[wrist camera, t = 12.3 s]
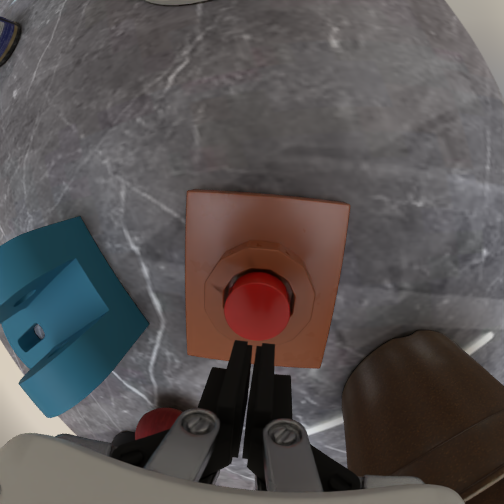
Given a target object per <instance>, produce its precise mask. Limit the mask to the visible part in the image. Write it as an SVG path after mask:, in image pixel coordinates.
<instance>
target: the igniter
mask: <svg viewBox="0 0 504 504" xmlns="http://www.w3.org/2000/svg"><path fill="white" fill-rule="evenodd" d="M349 213H350V205H349V204H347V203H345V202H340V201H331V200H323V199H314V198H305V197H295V196H285V195H274V194H262V193H250V192H236V191H220V190H202V189H193V190H188V191H187V198H186V230H185V301H186V333H187V354H188V355H191V356H197V357H204V358H210V359H217V360H225V361H229V359H230V355H231V352H232V348H233V345H234V341H235V340H240V341H248V345H253V346H252V358H251V364H254V361H255V354H256V347H257V346H262V343H268V344H275V361H274V366H283V367H298V368H320V367H321V363H322V359H323V355H324V351H325V347H326V342H327V338H328V334H329V329H330V325H331V320H332V315H333V310H334V305H335V300H336V295H337V290H338V285H339V279H340V273H341V267H342V261H343V255H344V249H345V242H346V235H347V228H348V220H349ZM252 272H264V273H268V274H271V275H273V276H275V277H277V278H278V279H279V280H280V281H281V282H282V283H283V284H284V285H285V287H286V288H287V291H288V294H289V301H290V319H289V322H288V324H287V326H286V327H285V329H284V330H283V331H282V332H281V333H280V334H278V335H277V336H275V337H273V338H271V339H268V340H263V341H254V340H249V339H245V338H243V337H241V336H239V335H238V334H236V333H235V332H234V331H233V330H232V329H231V328H230V327H229V325H228V323H227V321H226V319H225V315H224V305H225V302H226V299H227V297H228V294H229V292H230V289H231V287H232V285H233V284H234V283H235V281H236V280H237V279H239V278H240V277H241V276H243V275H245V274H248V273H252Z"/></svg>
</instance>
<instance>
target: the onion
mask: <svg viewBox="0 0 504 504" xmlns="http://www.w3.org/2000/svg"><path fill="white" fill-rule="evenodd" d="M181 413H183V412H182V411H180V410H178V409H174V408H157V409H154V410H152V411H150V412H148V413H146V414H144V416H143V417H142V418H141V419H140V421H139V423H138V425H137V428H136V431H135V440H137V439H141V438H144V437H147V436H150V435H153V434H156V433H159V432H162V431H165V430H167V429H170V428H171V427H172V425H173V424H174V422H175V421H176V419H177V418H178V416H179V415H180V414H181Z"/></svg>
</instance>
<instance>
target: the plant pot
mask: <svg viewBox="0 0 504 504" xmlns="http://www.w3.org/2000/svg"><path fill="white" fill-rule="evenodd" d="M342 413H343V420H344V430H345V440H346V452H347V466H348V469H349V470H350V471H352V472H353V473H354V474H356V475H357V476H359V477H364V475H380V476H413V477H417V478H419V479H421V480H422V481H423V482H424V483H425V484H431V485H439V486H444V487H448V488H450V489H452V490H454V491H455V492H457V493H458V494H459V496H460V497H461V498H462V499H463V501H464V503H465V504H504V386H503V385H502V384H501V383H500V382H499V381H498V380H496V379H495V378H494V377H493V376H492V375H491V374H490V373H489V372H487V371H486V370H485V369H484V368H483V367H482V366H481V365H480V364H478V363H477V362H476V361H475V360H474V359H473V358H472V357H470V356H469V355H468V354H467V353H466V352H464V351H463V350H462V349H461V348H460V347H459V346H458V345H456V344H455V343H454V342H453V341H452V340H451V339H450V338H448V337H447V336H445V335H443V334H441V333H439V332H435V331H431V330H421V331H415V332H414V333H413V334H412V335H410V336H407V337H402V338H394V339H392V340H390V341H388V342H386V343H385V344H383V345H382V346H380V347H379V348H377V349H376V350H375V351H373V352H372V353H371V354H370V355H369V356H367V357H366V358H365V359H364V360H363V361H362V362H361V363H360V364H359V366H358V367H357V368H356V369H355V370H354V372H353V373H352V374H351V376H350V377H349V379H348V381H347V383H346V385H345V387H344V390H343V394H342Z"/></svg>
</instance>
